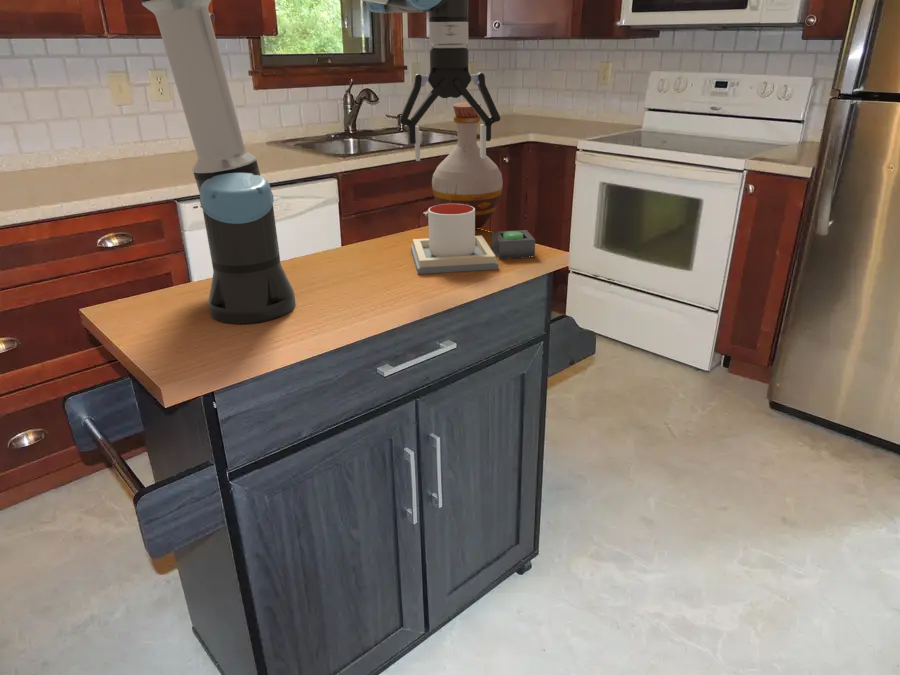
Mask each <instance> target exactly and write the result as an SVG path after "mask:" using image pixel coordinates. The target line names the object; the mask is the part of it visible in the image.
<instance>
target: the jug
mask: <svg viewBox="0 0 900 675" xmlns="http://www.w3.org/2000/svg"><path fill="white" fill-rule="evenodd" d="M477 103H478V104H479V106H480V107H481V106H482V104H481V103H480V102H477ZM452 108H453V111H454V115H455V116H453V121H454V123H455V125H456V132H457V144H456V146H455V147H454V148H453V150H452V151H451V152H449V154H448V155H447V156H446V157H445V158H444V160H442V161H441V162H440V163H439V164H438V166H436V169H435V171H434V172H433V174H432V178H431V179H432V180H431V186H432V187H431V188H432V193H433V196H434V201H435V202H436V205H441V204H464V205H469V206H472V207H474V208H475V230H477V229H480V228H483V226H484V225H485V224H486V223H487V222H488V221H489V219H490V218H491V216H492V215H493V214H494V212H495V211H496V209H497V208H498V205H499V202H500V199H501V195H502V191H503V185H504V184H503V173H502V172H501V170H500V169H499V167H498V165H497V164H496V163H495V162H494V161H493V160H492V159H491V158H490V157H489V156H488V155H487V154H486V159H482V158H481V157H480V146H479V145H478V144H477V134H478V133H477V131H478V127H479V122H481V118H480V117H479V116H478V114H477V113H476V112H475V111H474V109H473V108H472V107H471V106H470V104H469V103H468V102H467V101H464V102H463V101H462V102H461V101H460V102H456V103H453V104H452Z"/></svg>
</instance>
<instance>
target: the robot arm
mask: <svg viewBox="0 0 900 675" xmlns="http://www.w3.org/2000/svg"><path fill="white" fill-rule="evenodd" d="M361 1H363V2H365V5H366V7H367V9H368V10H369V11H370V12H372V13H378V14H406V13H412V14H413V13H423V14H424V13H428V22H429V23H428V24H429V25H428V26H429V30H428V31H429V36H428V37H429V45H430V46H432V47H431V48H430V50H429V70H430V71H429V74H428V75H423V74H419V73H416V74H414V77H413V78H414V79H413V87H412V89H411V91H410V93H409V96H408V99H407V100H406V101H407V102H406V103H405V105H404V108H403V110H402V113H401V115H400V117H399V122H400V124H402V125H403V126H407V127H408V134H409V135H408V139H409V140H408V141H409V143H410V144H411V145H412V144H413V145H414V154H415V161H416V162H421V148H420V146H421V145H420V143H421V141H420V127H419V125H417V124H418V123H419V122H420V120H421V119H422V117H423V116H424V115H425V114H426V112H427V111H428V110H429V108H430V107H431V106H432V104H433V103H434V102H435V101H436V100H437V99H438V97H439V98H441V99H448V98H455V99H457V98H459V97H461V96H462V97H463V99H464V100H465V102H468V103H469V104H470V106H471V107H472V108H473V109H474V111H475V112H476V113H477V114H478V116H479V117H480V120H482V122H483V123H481V124H479V129H480V130H479V148H480V157H481V158H482V159H486V155H487V142H490V141H491V139H492V125H493V124H494V123H497V122H500V121H501V116H500V114H499V111H498V109H497V107H496V105H495V103H494V100H493V98H492V96H491V94H490V91H489V89H488V87H487V85H486V76H485V74H484V73H483V72H478V73H474V74H471V73H470V71H469V49H468V47H466V45H468V44H469V0H361ZM140 2H141V5H142V6H143V7H144V8H146V9H147V10H148V11H150V12H152V14H154V16H155V19H156V22H157V25H158V29H159V32H160V35H161V38H162V41H163V42H162V43H163V45H164V50H165V52H166V54H167V55H166V56H167V59H168V62H169V66H170V68H171V73H172V75H173V80H174V82H175V85H176V89H177V92H178V95H179V99H180V102H181V105H182V109H183V112H184V116H185V118H186V124H187V125H188V130H189V133H190V136H191V139H192V143H193V146H194V150H195V153H196V156H197V160H196V162H195V164H194V166H193V167H192V173H193V176H194V179H195V183H196V185H197V189H198V193H199V203H200V208H201V209H202V214H203V219H204V225H205V230H206V237H207V242H208V248H209V254H210V258H211V259H210V260H211V265H212V270H213V273H212V279H211V284H210V289H209V297H208V309H209V313H210V316H211V318H212V319H215V320H217V321H219V322H222V323H226V324H255V323H261V322H265V321H272V320H273V319H274V320H275V319H277V318H280V317H282V316H284V315H286V314H288V313H290V312H292V311H293V309H294V308H295V307H296V298H295V296H296V295H295V292H294V289H293V287H292V285H291V283H290V281H289V278H288V276H287V274H286V272H285V270H284V268H283V265H282V263H281V257H280V248H279V242H278V241H279V240H278V232H277V227H276V219H275V217H276V216H275V212H274V194H273V191H272V188H271V185H270V183H269V181H268V180H267V179H266V178H265V177H263V176H262V175H261V173H260V169H259V165H258V160H257V156H255V155H253V154H252V153H250V152H249V151H247V149H246V147H245V144H244V139H243V135H242V133H241V128H240V125H239V121H238V118H237V114H236V110H235V106H234V102H233V99H232V94H231V91H230V86H229V83H228V79H227V76H226V75H227V74H226V72H225V68H224V65H223V61H222V57H221V53H220V49H219V45H218V42H217V38H216V33H215V30H214V26H213V23H212V22H213V21H212V19H211V16H210V14H211V13H210V11H209V5H210V4H211V2H212V0H140ZM471 81H472V82H473V84H474V85H475V86H477V88H478V90H479V92H480V95H481V97H482V99H483V101H484V103H485V106H486V107H487V109H488V112H489V114H490V116H488V114H487V113H486V111H484V109H483V108H482V107H481V106H479V104H478V103H479V102H477V100H475V98H474V96H472V94H471V93H470V92H469V90H468V86H469V84H470V83H471ZM427 82H428V83H429V85H430V86H431V88H432V90H430V92H429V94H427V97H426V98H425V100H424V101H423V102H422V103H421V104H420V106H419V107H418V109H417V110H416V111H415V112H414V113H413V115H412V116H411V118H409V117H410V115H411V113H412V110H413V109H414V108H413V107H414V105H415V103H416V101H417V98H418V96H419V94H420V92H421V89H422V87H424V86H425V85H426V83H427Z"/></svg>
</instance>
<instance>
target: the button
mask: <svg viewBox="0 0 900 675" xmlns="http://www.w3.org/2000/svg"><path fill="white" fill-rule="evenodd" d="M509 231H510V232H505V233H504V234H503V239H504V240H505V239H523V233H521V232H516V231H517V230H509Z"/></svg>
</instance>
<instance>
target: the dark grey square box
mask: <svg viewBox="0 0 900 675" xmlns="http://www.w3.org/2000/svg"><path fill="white" fill-rule="evenodd" d="M510 231H511V230H503V231H501V230H499V231H491V233H492V234H491V250H492V251H493V253H494V254H495V256H496V257H497V258H499V259H498V260H509V259H508V258H514V259H522V258H521V257H529V256H530V257H531V256H536V255H535V254H536V239H535V238H534V236H533V235H532V234H531V233H530V232H529V231H528V230H527V229H523V230H518V229H517V230H515V231H516V232H521V233H523V239H505V240H504V239H503V234H504V233H505V232H510ZM531 258H532V257H531Z"/></svg>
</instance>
